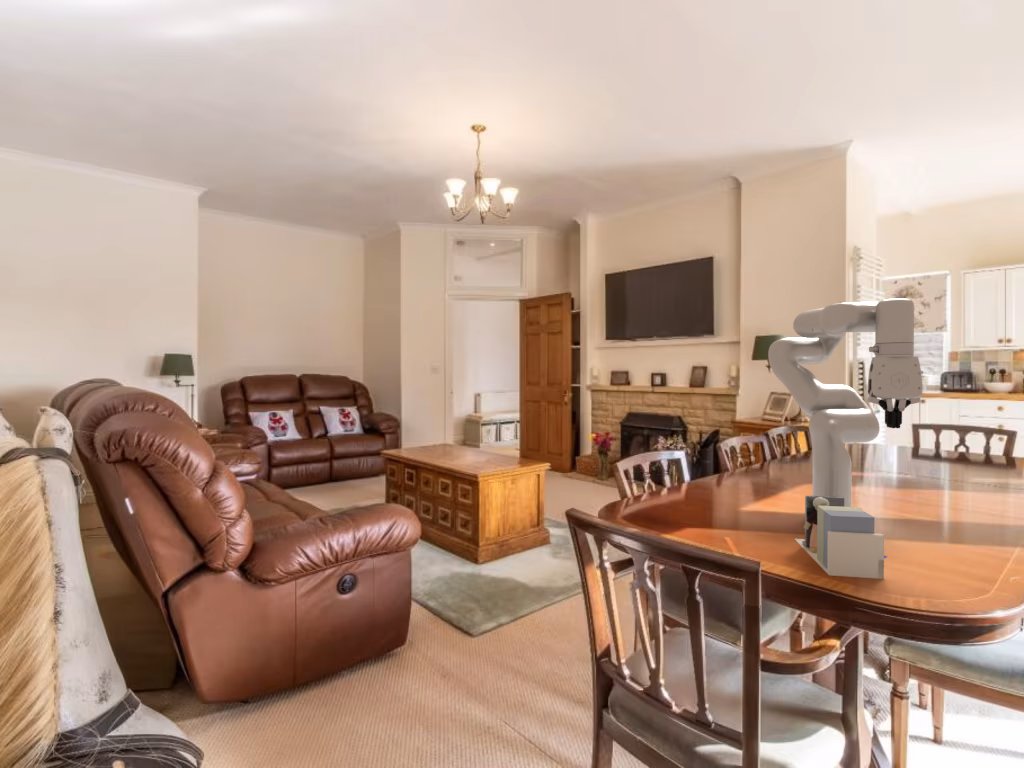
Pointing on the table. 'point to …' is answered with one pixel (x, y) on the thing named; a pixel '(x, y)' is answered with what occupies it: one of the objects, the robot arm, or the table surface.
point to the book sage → (821, 526)
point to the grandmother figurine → (814, 523)
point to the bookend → (810, 509)
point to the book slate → (846, 525)
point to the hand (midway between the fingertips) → (893, 427)
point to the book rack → (853, 554)
